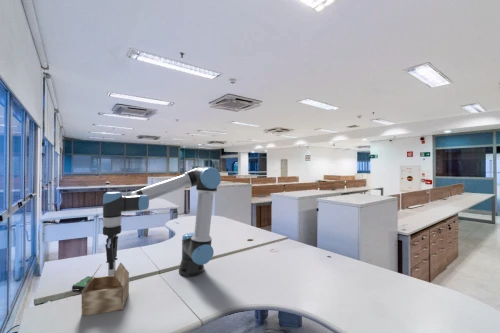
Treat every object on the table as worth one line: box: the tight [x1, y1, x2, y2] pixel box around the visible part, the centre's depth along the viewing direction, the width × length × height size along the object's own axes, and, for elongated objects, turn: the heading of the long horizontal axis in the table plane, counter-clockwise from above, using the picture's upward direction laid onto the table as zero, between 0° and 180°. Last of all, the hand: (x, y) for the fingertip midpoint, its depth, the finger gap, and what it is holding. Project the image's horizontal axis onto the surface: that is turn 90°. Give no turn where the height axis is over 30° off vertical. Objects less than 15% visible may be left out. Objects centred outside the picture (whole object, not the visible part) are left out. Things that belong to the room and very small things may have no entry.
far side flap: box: [81, 264, 103, 293], centre depth 110 cm, size 1×14×7 cm
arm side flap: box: [114, 262, 130, 287], centre depth 113 cm, size 1×14×7 cm
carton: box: [81, 274, 130, 317], centre depth 112 cm, size 16×15×10 cm
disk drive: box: [71, 276, 95, 292], centre depth 127 cm, size 10×3×15 cm
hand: (111, 275), depth 112 cm, fingers closed
